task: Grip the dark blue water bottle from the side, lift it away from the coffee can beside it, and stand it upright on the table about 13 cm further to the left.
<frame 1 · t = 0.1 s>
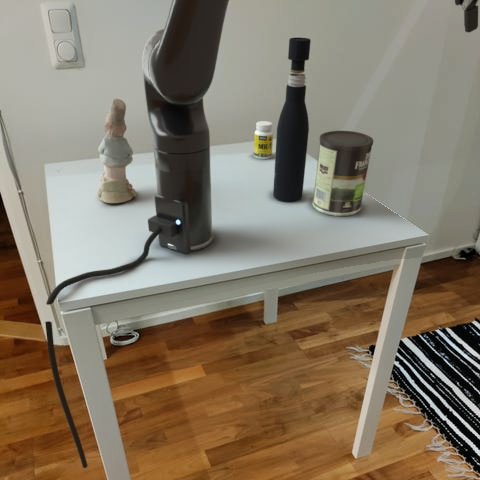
dark blue water bottle: (287, 197, 103), on the table
figurine: (118, 197, 102), on the table
coffee can: (336, 206, 100), on the table
supplement bottle: (262, 157, 124), on the table
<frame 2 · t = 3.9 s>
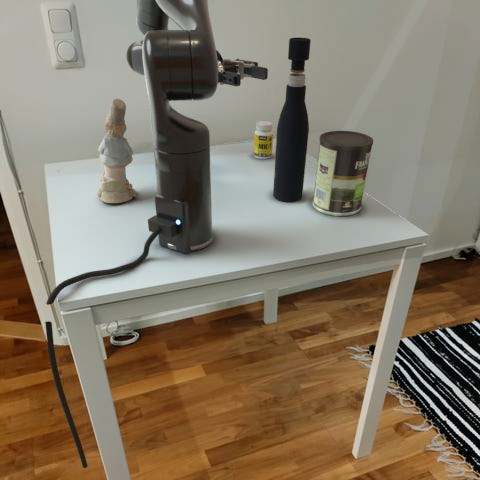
hand: (253, 77, 95), 22 cm above the table, tool horizontal, fingers open, 8 cm apart
nothing on the table moved.
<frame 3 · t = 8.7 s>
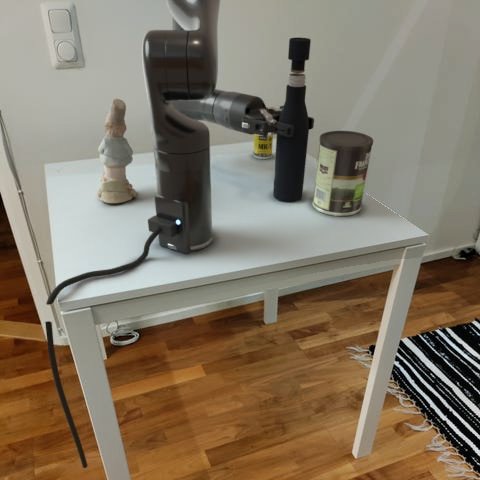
hand: (302, 127, 93), 15 cm above the table, tool horizontal, fingers closed on dark blue water bottle, 6 cm apart
dark blue water bottle: (287, 197, 103), on the table, touching gripper
everything else where it was.
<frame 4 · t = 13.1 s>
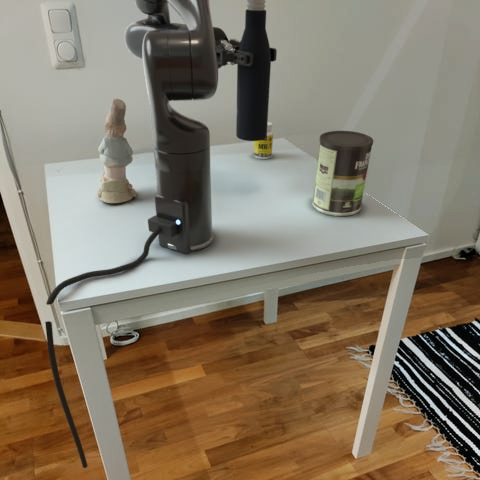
hand: (263, 57, 88), 27 cm above the table, tool horizontal, fingers closed on dark blue water bottle, 6 cm apart
dark blue water bottle: (251, 137, 99), point 12 cm above the table, touching gripper
everything else where it was.
when the fingers open (15 cm above the table, at t = 17.4 s): dark blue water bottle stays where it is, on the table.
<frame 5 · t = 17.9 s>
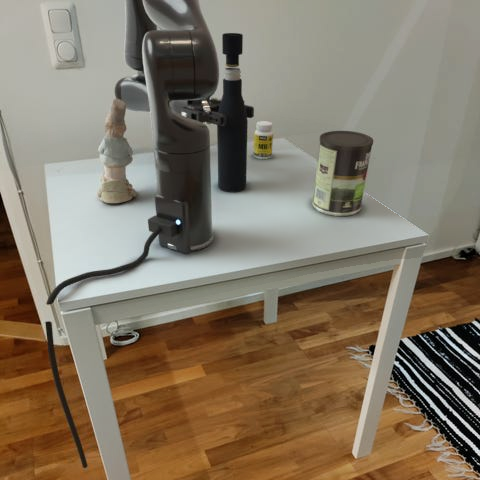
hand: (239, 116, 97), 16 cm above the table, tool horizontal, fingers open, 8 cm apart
dark blue water bottle: (232, 187, 107), on the table
everything else where it was.
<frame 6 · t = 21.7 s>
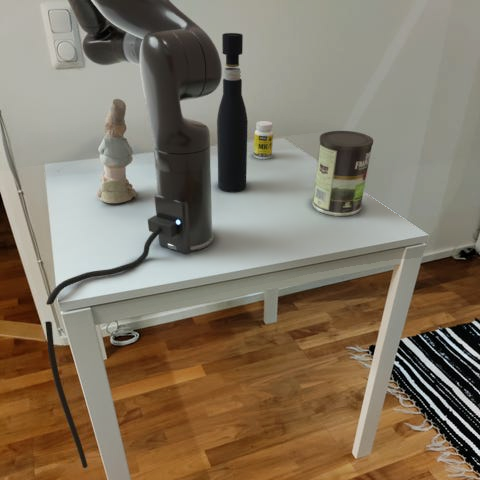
hand: (198, 56, 97), 25 cm above the table, tool horizontal, fingers open, 8 cm apart
nothing on the table moved.
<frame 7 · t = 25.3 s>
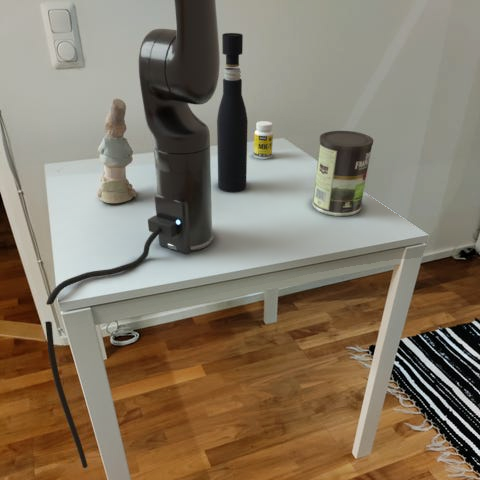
hand: (191, 5, 91), 34 cm above the table, tool pointing down, fingers open, 8 cm apart
nothing on the table moved.
at the end: dark blue water bottle inside the target area (0.1 cm from its centre), on the table; dark blue water bottle tilted 0°; the gripper is holding nothing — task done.
